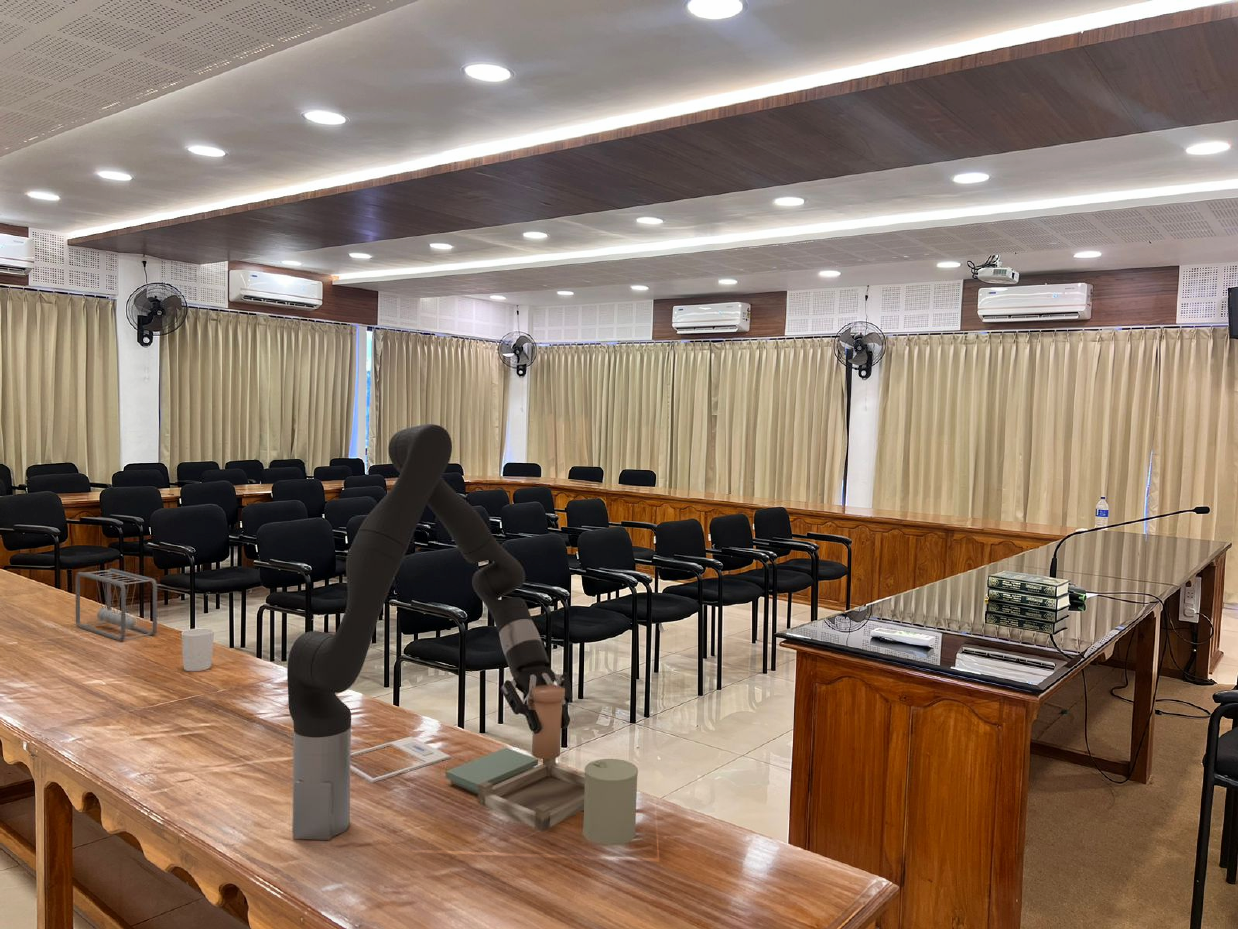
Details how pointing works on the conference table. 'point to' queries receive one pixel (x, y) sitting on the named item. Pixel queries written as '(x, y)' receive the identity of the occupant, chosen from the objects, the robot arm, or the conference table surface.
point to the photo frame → (407, 746)
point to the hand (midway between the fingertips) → (552, 728)
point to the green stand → (491, 769)
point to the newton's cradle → (114, 616)
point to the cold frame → (537, 795)
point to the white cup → (197, 648)
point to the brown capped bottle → (548, 720)
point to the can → (610, 802)
